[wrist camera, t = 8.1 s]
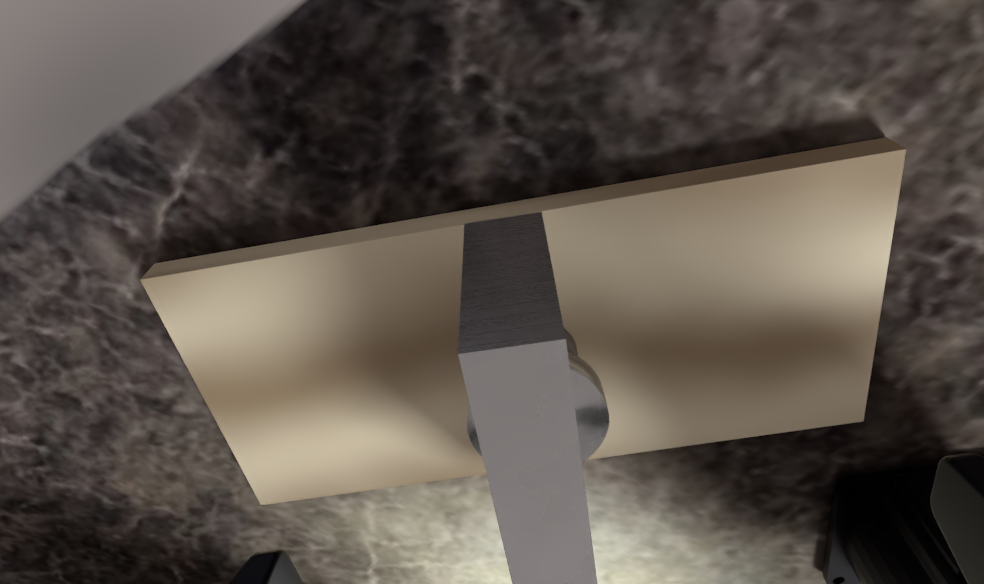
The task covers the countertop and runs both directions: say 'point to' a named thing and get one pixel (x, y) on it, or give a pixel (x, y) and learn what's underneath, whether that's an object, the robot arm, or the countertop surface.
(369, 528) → the countertop surface
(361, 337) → the post board
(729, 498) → the countertop surface
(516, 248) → the grey rectangular bar
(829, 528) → the robot arm
